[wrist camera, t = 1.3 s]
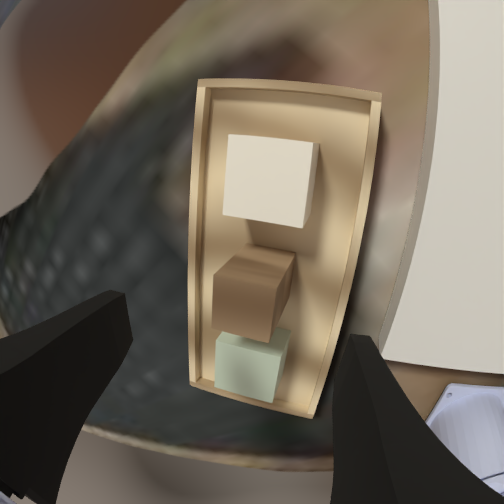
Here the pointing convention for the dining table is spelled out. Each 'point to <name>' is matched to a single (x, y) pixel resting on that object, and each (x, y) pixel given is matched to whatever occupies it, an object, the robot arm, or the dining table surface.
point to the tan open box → (278, 230)
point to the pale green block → (251, 364)
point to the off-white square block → (270, 179)
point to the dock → (456, 202)
